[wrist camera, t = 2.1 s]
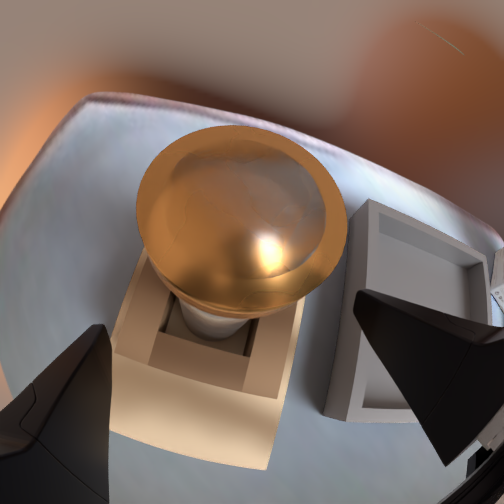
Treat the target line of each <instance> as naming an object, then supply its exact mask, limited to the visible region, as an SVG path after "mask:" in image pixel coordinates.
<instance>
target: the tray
mask: <svg viewBox="0 0 504 504" xmlns="http://www.w3.org/2000/svg"><path fill="white" fill-rule="evenodd" d="M361 289H371V290H374V291H377V292H380V293H383V294H386V295H390V296H393V297H396V298H399V299H402V300H406V301H409V302H412V303H415V304H418V305H421V306H425V307H428V308H431V309H434V310H437V311H440V312H443V313H447V314H450V315H453V316H457V317H460V318H464V319H467V320H471V321H475V322H479V323H483V324H487V325H491V326H492V305H491V292H490V281H489V273H488V265H487V258H486V256H485V255H484V254H482V253H480V252H478V251H477V250H475V249H473V248H471V247H469V246H467V245H466V244H464V243H462V242H460V241H458V240H456V239H454V238H452V237H451V236H449V235H447V234H445V233H443V232H441V231H439V230H437V229H435V228H433V227H431V226H429V225H427V224H424V223H422V222H420V221H418V220H416V219H414V218H412V217H410V216H407V215H405V214H403V213H401V212H399V211H396V210H394V209H392V208H390V207H387V206H385V205H383V204H380V203H378V202H376V201H373V200H371V199H369V198H368V200H367V201H366V202H365V203H364V204H363V205H362V206H361V207H360V208H359V209H358V210H357V212H356V213H355V214H354V215H353V216H352V217H351V218H350V221H349V238H348V252H347V264H346V274H345V284H344V293H343V301H342V309H341V317H340V324H339V331H338V338H337V344H336V350H335V356H334V362H333V367H332V373H331V378H330V383H329V388H328V393H327V398H326V402H325V407H324V411H323V416H326V417H329V418H333V419H337V420H341V421H345V422H361V423H410V422H419V421H418V419H417V418H416V416H415V415H414V413H413V411H412V410H411V408H410V406H409V405H408V403H407V402H406V400H405V398H404V397H403V395H402V394H401V392H400V390H399V389H398V387H397V386H396V384H395V382H394V381H393V379H392V378H391V376H390V375H389V373H388V372H387V370H386V369H385V367H384V365H383V364H382V362H381V361H380V359H379V358H378V356H377V355H376V353H375V352H374V350H373V349H372V347H371V346H370V344H369V342H368V340H367V339H366V337H365V335H364V333H363V331H362V329H361V327H360V325H359V323H358V322H357V320H356V318H355V316H354V314H353V305H354V300H355V295H356V292H357V291H358V290H361Z"/></svg>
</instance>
